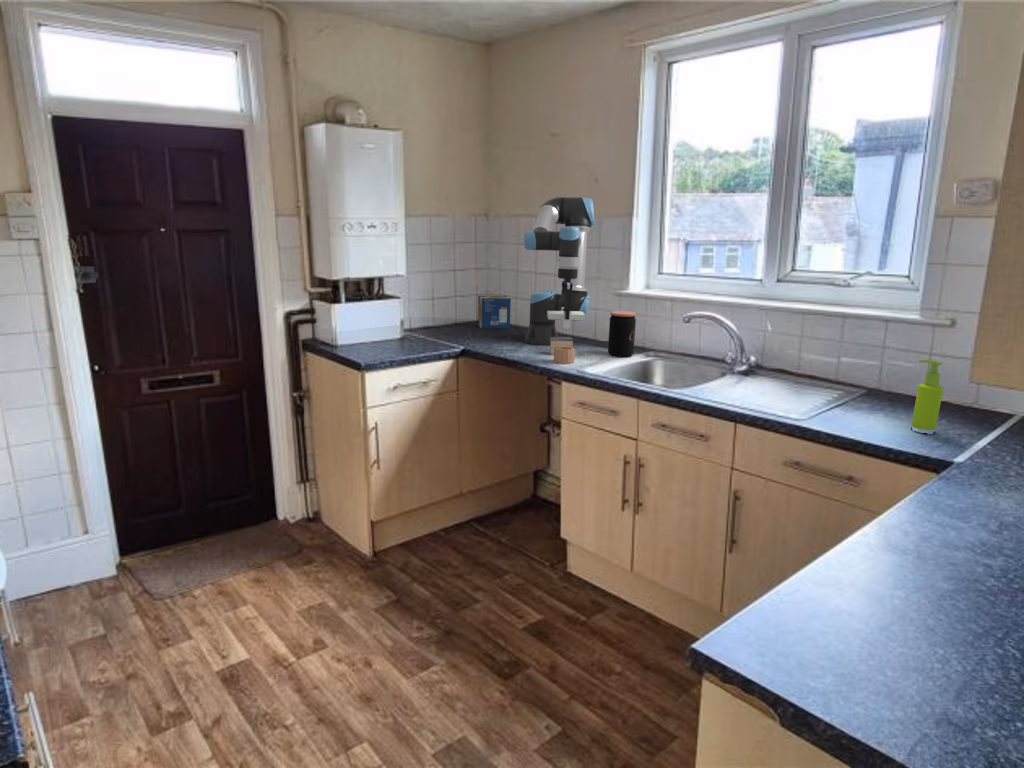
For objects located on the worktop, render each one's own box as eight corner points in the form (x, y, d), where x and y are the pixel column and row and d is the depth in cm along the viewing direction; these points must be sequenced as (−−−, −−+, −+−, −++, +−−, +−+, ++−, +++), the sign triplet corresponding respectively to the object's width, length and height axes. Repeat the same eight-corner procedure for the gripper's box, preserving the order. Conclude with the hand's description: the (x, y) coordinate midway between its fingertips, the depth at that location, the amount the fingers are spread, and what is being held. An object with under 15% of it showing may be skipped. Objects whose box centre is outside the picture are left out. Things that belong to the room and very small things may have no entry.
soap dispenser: (912, 425, 192) (924, 357, 187) (938, 432, 187) (951, 362, 182) (902, 429, 189) (914, 359, 184) (929, 435, 183) (942, 364, 178)
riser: (549, 352, 284) (550, 337, 283) (571, 352, 284) (571, 337, 283) (550, 354, 278) (551, 339, 277) (572, 355, 278) (573, 340, 277)
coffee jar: (633, 358, 275) (636, 315, 271) (606, 356, 277) (609, 313, 273) (633, 353, 285) (636, 311, 281) (608, 352, 287) (611, 310, 283)
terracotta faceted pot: (553, 359, 270) (553, 346, 268) (573, 359, 270) (573, 346, 268) (554, 363, 262) (554, 349, 260) (574, 364, 262) (575, 350, 260)
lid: (547, 315, 266) (547, 310, 266) (582, 316, 266) (582, 311, 266) (548, 319, 256) (548, 314, 256) (584, 320, 256) (585, 314, 256)
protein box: (477, 325, 349) (477, 295, 346) (506, 324, 353) (507, 295, 349) (480, 328, 340) (481, 297, 336) (510, 328, 343) (511, 297, 339)
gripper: (556, 265, 268) (554, 321, 273) (560, 269, 246) (557, 329, 251) (575, 266, 268) (572, 321, 273) (580, 270, 246) (577, 330, 251)
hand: (565, 325), depth 262 cm, fingers closed on lid, 10 cm apart
